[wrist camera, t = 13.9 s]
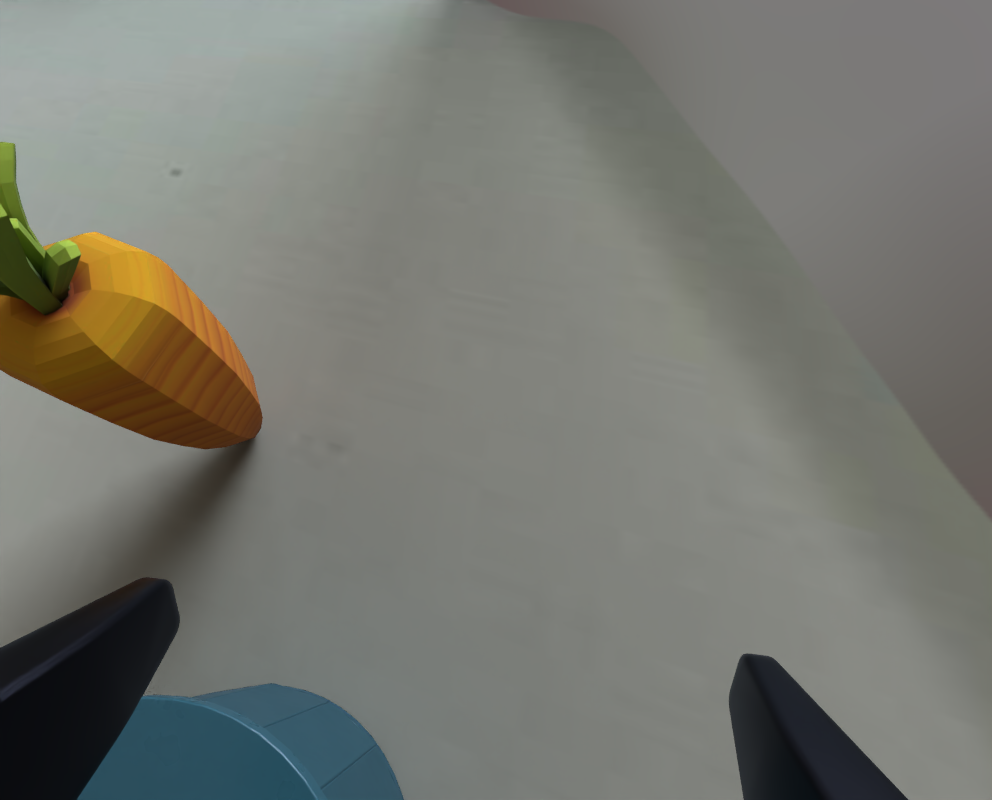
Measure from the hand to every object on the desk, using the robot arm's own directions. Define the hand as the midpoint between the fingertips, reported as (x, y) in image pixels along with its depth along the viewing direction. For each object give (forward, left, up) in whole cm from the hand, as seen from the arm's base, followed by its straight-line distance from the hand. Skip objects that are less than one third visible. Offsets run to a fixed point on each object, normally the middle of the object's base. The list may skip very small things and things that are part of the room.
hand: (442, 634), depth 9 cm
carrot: (+10, +9, -14) cm, 19 cm away
